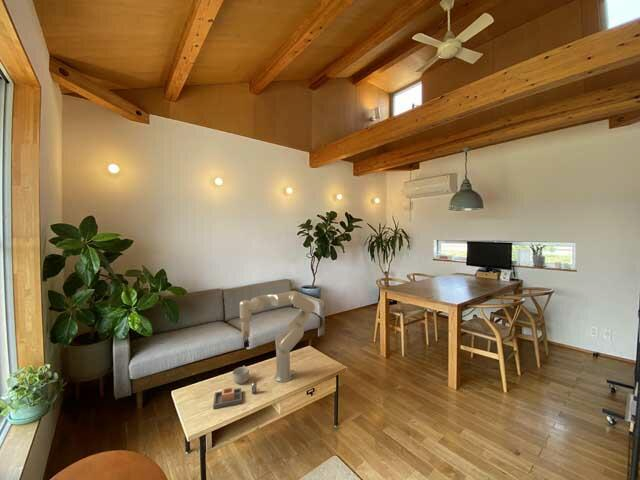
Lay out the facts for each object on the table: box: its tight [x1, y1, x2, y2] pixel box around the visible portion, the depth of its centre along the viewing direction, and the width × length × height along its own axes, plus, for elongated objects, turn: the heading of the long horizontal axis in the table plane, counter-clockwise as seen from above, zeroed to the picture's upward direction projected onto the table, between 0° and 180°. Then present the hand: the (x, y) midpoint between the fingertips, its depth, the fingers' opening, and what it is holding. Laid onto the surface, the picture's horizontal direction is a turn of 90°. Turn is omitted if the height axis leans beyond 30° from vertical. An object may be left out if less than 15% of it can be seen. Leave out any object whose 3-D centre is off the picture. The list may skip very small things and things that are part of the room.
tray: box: [212, 387, 243, 410], centre depth 165 cm, size 16×13×2 cm
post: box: [251, 381, 258, 395], centre depth 172 cm, size 3×3×6 cm
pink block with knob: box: [221, 386, 235, 402], centre depth 165 cm, size 7×7×5 cm
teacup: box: [232, 365, 250, 385], centre depth 187 cm, size 14×11×8 cm
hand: (246, 344), depth 179 cm, fingers open, 9 cm apart
